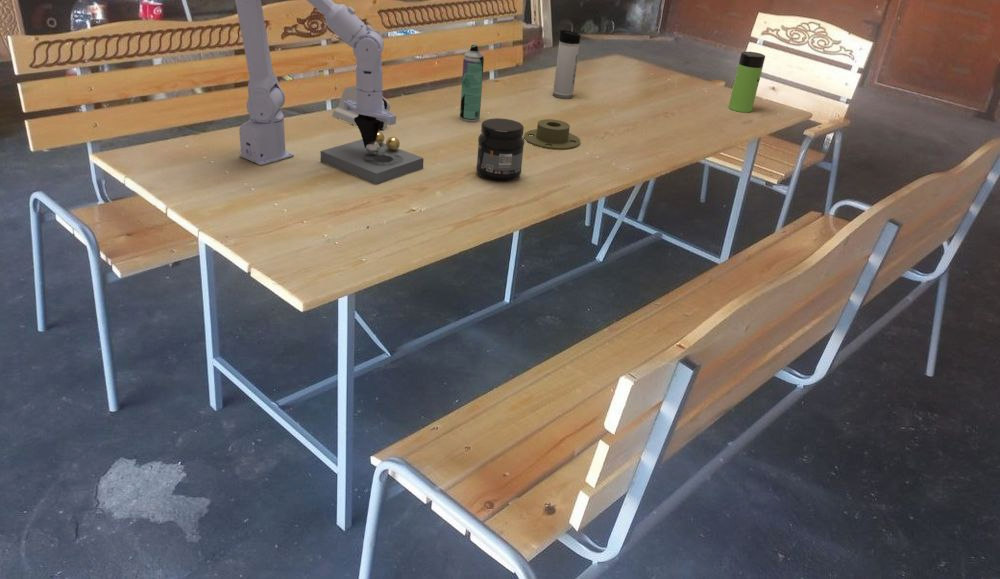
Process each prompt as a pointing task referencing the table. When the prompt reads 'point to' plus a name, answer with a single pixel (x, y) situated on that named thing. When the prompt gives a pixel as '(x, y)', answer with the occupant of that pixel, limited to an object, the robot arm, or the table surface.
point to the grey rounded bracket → (349, 115)
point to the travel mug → (566, 64)
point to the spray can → (471, 85)
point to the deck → (371, 161)
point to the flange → (552, 135)
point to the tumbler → (746, 81)
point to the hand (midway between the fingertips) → (369, 147)
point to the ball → (373, 148)
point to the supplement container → (500, 150)
